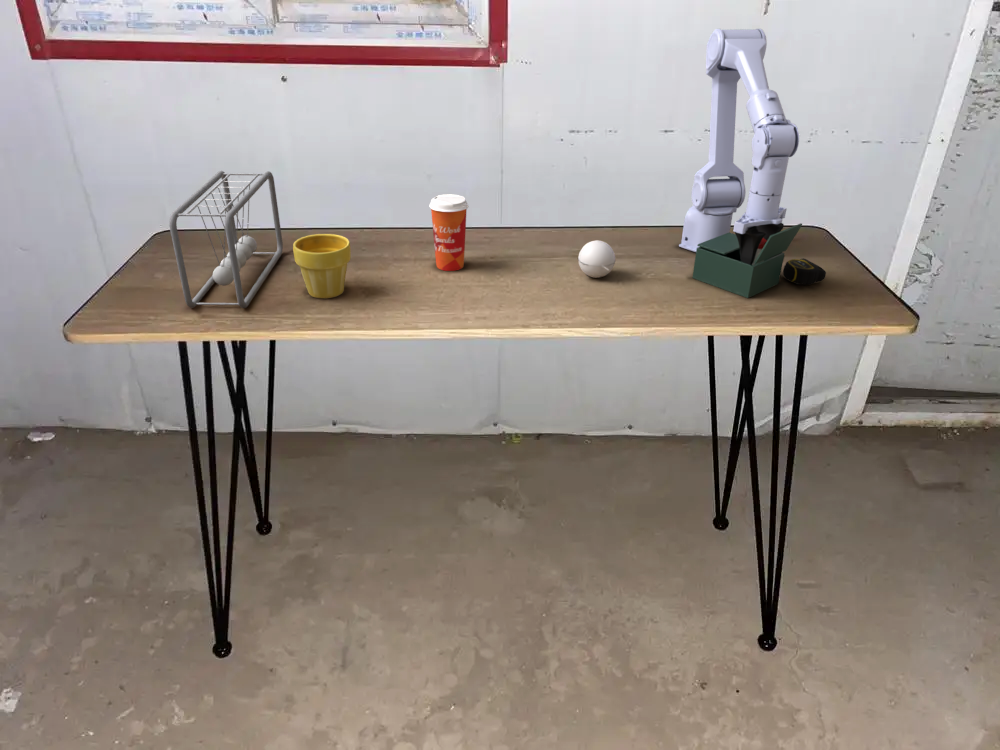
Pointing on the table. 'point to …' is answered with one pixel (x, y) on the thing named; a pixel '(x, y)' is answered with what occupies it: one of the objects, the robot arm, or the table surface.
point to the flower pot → (323, 263)
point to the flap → (778, 243)
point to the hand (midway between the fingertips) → (752, 260)
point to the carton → (734, 267)
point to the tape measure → (803, 272)
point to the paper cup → (449, 230)
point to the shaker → (759, 250)
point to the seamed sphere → (596, 259)
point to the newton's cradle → (228, 238)
